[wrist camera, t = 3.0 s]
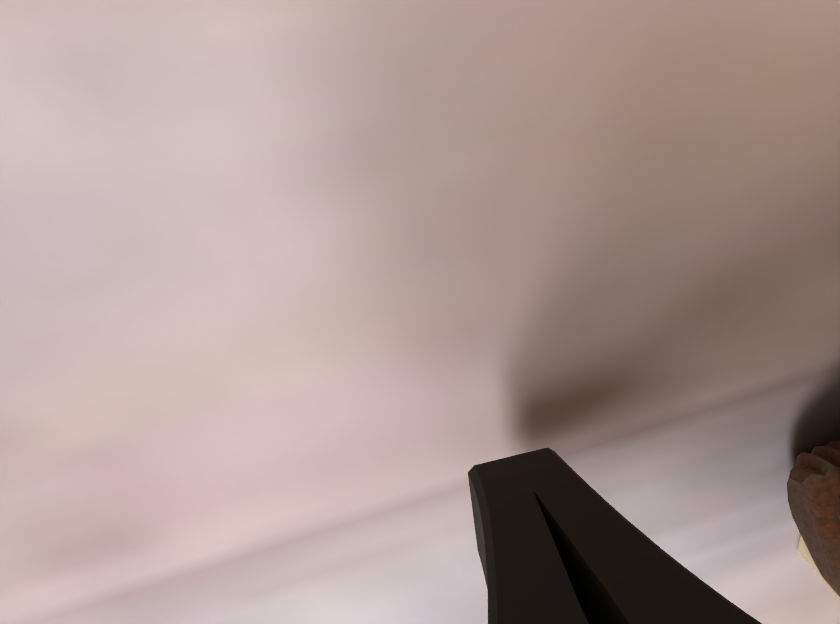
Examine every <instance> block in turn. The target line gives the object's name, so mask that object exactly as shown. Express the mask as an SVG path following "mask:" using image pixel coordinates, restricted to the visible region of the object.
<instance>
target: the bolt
mask: <svg viewBox="0 0 840 624" xmlns="http://www.w3.org/2000/svg"><path fill="white" fill-rule="evenodd" d="M787 490H788V502H789V505H790V509H791V513H792V516H793V519H794V521H795V523H796V525H797V527H798V529H799V532H800V534H801V536H802V538H803V540H804V542H805V544H806V546H807V548H808V551H809V553H810V555H811V557H812V559H813V561H814V563H815V565H816V567H817V568H818V570H819V572H820V574H821V575H822V577H823V578H824V579H825V581H826V582H827V583H828V584H829V585H830V586H831V587H832V589H833V590H834V591H835V592H836V593H837V594H838V595H839V597H840V441H829V443H828V444H827V445H826V446H816V447H815V448H813V450H812V452H811V454H809V453H800V454H799V455H798V456H797V459H796V463H795V467H794V468H792V470H791V471H790V475H789V479H788V483H787Z"/></svg>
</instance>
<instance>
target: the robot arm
mask: <svg viewBox="0 0 840 624" xmlns="http://www.w3.org/2000/svg"><path fill="white" fill-rule="evenodd" d="M468 477H469V485H470V493H471V501H472V508H473V516H474V524H475V531H476V539H477V547H478V552H479V556H480V559H481V563H482V567H483V571H484V575H485V580H486V584H487V588H488V624H762V623H760V622H759V621H757V620H756V619H754V618H753V617H751V616H750V615H748V614H747V613H745V612H744V611H743V610H741V609H740V608H738V607H737V606H736V605H734V604H733V603H731V602H730V601H729V600H727V599H726V598H725V597H723V596H722V595H720V594H719V593H718V592H716V591H715V590H714V589H712V588H711V587H710V586H708V585H707V584H706V583H704V582H703V581H702V580H700V579H699V578H698V577H697V576H695V575H694V574H693V573H691V572H690V571H689V570H687V569H686V568H685V567H683V566H682V565H681V564H680V563H678V562H677V561H676V560H675V559H673V558H672V557H671V556H670V555H668V554H667V553H666V552H665V551H663V550H662V549H661V548H660V547H659V546H657V545H656V544H655V543H654V542H653V541H651V540H650V539H649V538H648V537H647V536H646V535H644V534H643V533H642V532H641V531H640V530H638V529H637V528H636V527H635V526H634V525H633V524H631V523H630V522H629V521H628V520H627V519H625V518H624V517H623V516H622V515H621V514H620V513H619V512H618V511H616V510H615V509H614V508H613V507H612V506H611V505H610V504H609V503H608V502H606V501H605V500H604V499H603V498H602V497H601V496H600V495H599V494H598V493H597V492H596V491H595V490H593V489H592V488H591V487H590V486H589V485H588V484H587V483H586V482H585V481H584V480H583V479H582V478H581V477H580V476H579V475H578V474H577V473H576V472H575V471H574V470H573V469H572V468H571V467H569V466H568V465H567V464H566V463H565V462H564V461H563V460H562V459H561V458H560V457H559V456H558V454H557V453H556V452H554V451H553V450H551V449H550V448H544V449H540V450H536V451H532V452H527V453H523V454H519V455H515V456H511V457H507V458H503V459H499V460H495V461H491V462H487V463H483V464H478V465H474V466H473V467H472V469H471V470H470V471H469V472H468Z"/></svg>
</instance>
